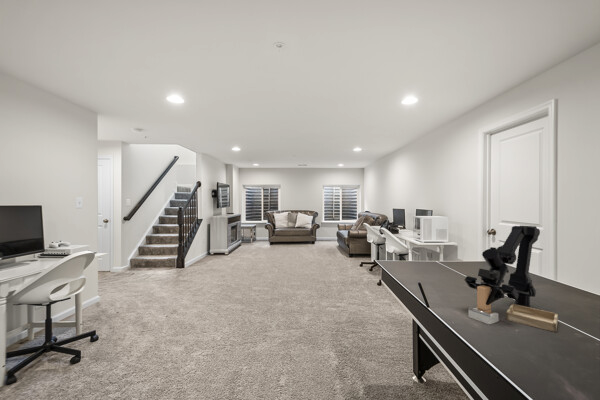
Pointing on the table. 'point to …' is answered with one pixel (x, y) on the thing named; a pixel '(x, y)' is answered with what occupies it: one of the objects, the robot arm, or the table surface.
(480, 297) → the orange post
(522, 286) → the robot arm
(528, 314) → the tray
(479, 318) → the white piece
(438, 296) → the table surface
